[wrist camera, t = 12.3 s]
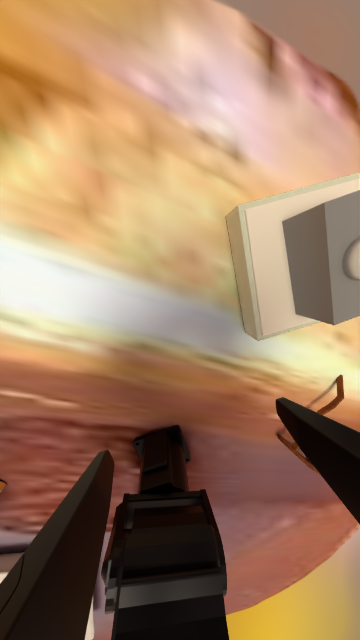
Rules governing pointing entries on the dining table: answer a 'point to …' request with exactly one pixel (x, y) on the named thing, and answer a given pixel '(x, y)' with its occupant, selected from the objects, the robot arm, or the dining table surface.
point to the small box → (2, 486)
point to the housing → (326, 259)
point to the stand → (273, 255)
